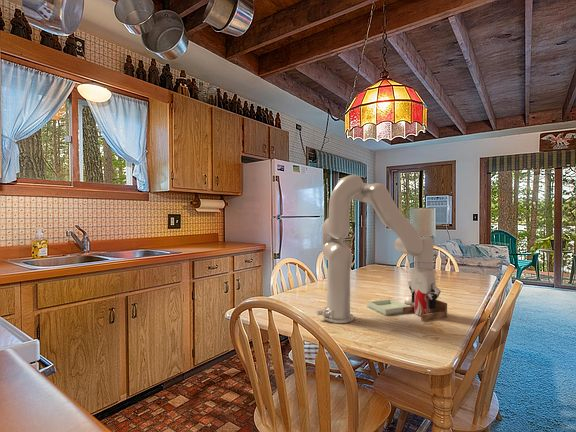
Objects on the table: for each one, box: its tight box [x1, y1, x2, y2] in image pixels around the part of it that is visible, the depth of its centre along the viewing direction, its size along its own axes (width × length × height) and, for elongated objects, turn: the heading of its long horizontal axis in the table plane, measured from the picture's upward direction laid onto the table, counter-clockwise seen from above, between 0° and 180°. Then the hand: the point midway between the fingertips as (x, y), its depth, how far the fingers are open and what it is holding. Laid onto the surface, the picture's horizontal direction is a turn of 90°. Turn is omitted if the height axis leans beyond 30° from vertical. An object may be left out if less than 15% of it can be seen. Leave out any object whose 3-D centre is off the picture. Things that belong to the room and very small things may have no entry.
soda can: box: [414, 288, 433, 318], centre depth 142 cm, size 7×7×12 cm
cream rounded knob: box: [404, 294, 414, 306], centre depth 159 cm, size 7×7×4 cm
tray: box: [366, 298, 410, 317], centre depth 149 cm, size 13×13×3 cm
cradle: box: [402, 299, 448, 322], centre depth 142 cm, size 13×12×6 cm
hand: (423, 305), depth 142 cm, fingers open, 9 cm apart
